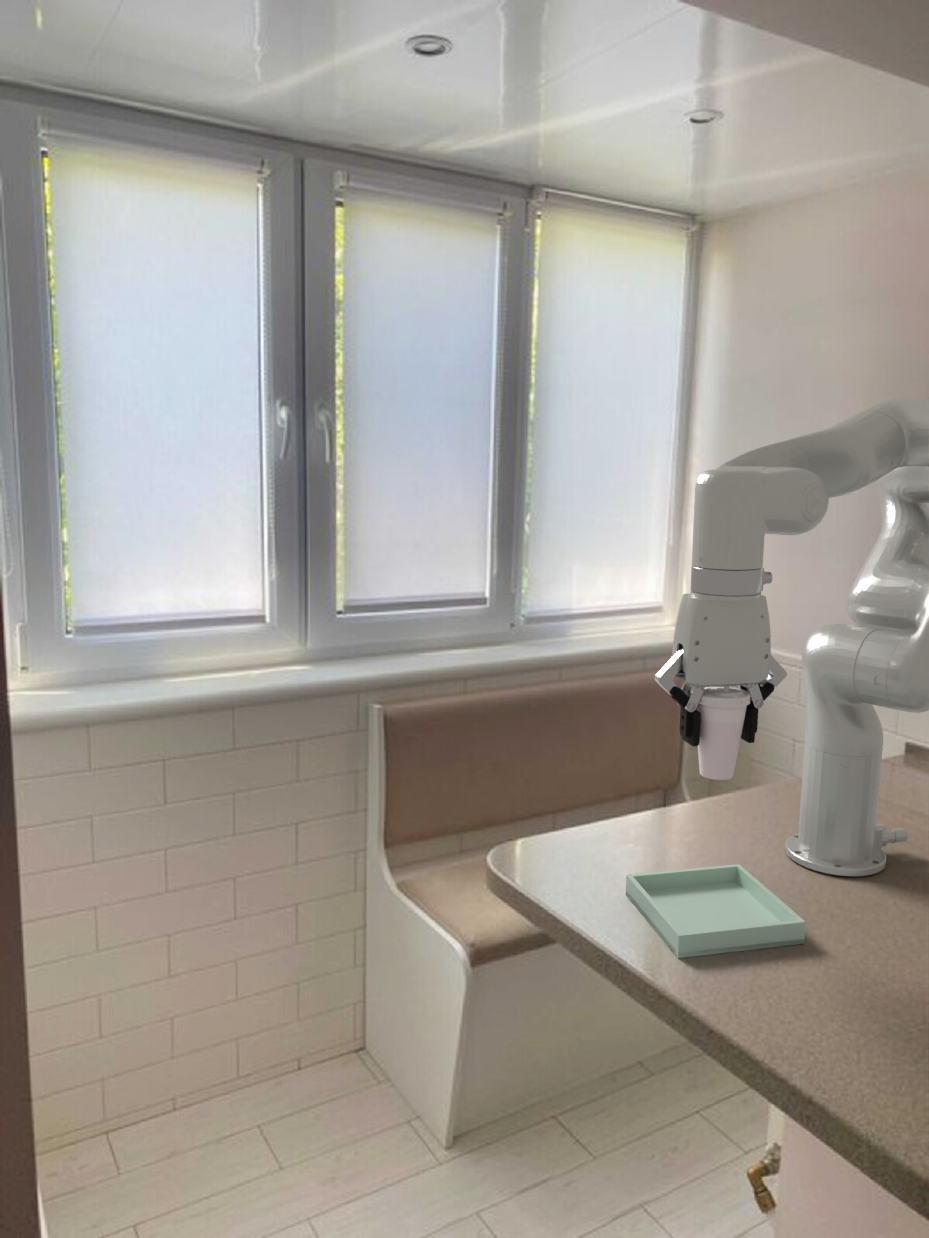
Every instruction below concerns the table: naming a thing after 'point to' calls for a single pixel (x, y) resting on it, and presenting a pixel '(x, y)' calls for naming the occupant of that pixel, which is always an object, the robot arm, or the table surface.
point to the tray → (713, 910)
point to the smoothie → (720, 730)
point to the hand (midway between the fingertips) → (717, 739)
